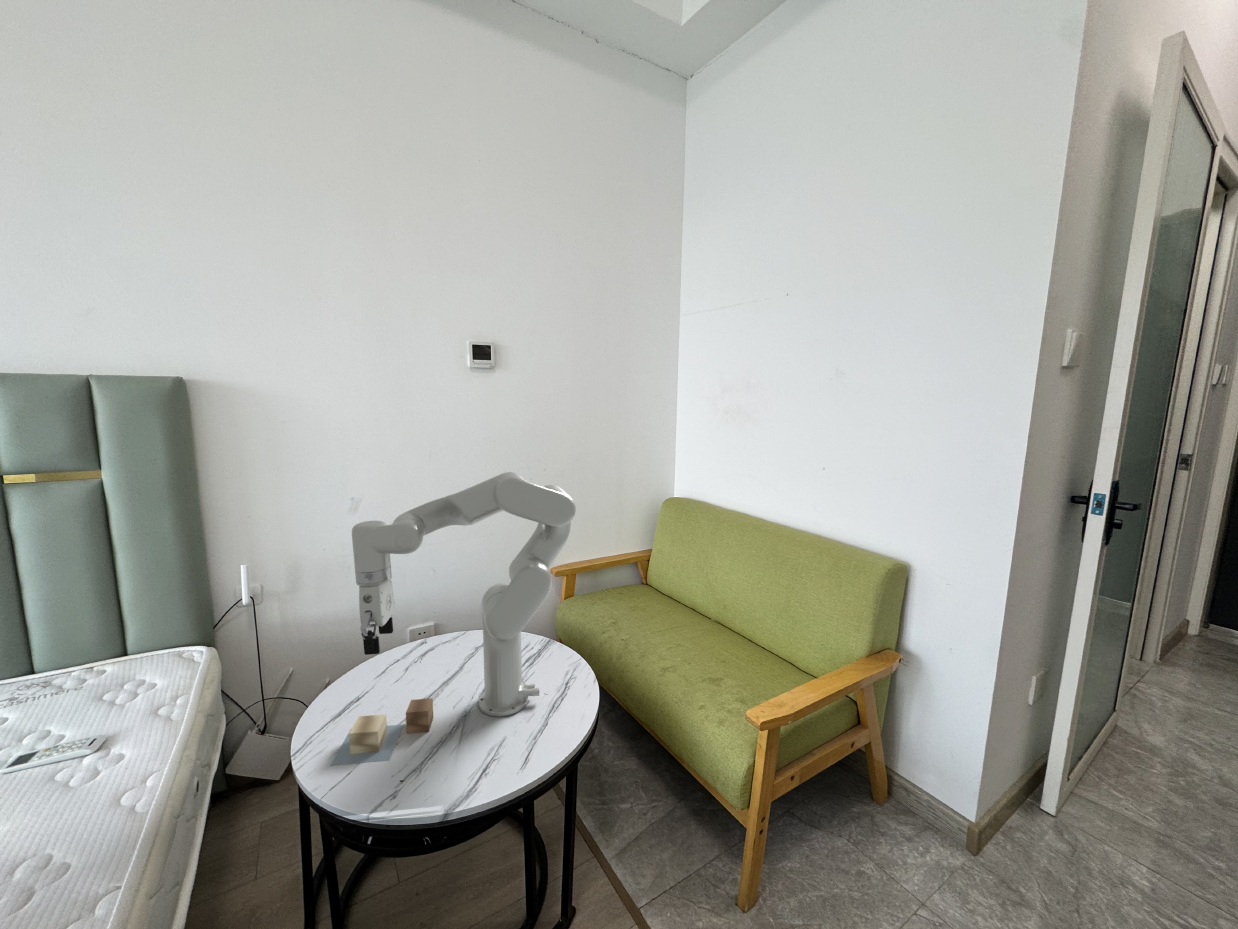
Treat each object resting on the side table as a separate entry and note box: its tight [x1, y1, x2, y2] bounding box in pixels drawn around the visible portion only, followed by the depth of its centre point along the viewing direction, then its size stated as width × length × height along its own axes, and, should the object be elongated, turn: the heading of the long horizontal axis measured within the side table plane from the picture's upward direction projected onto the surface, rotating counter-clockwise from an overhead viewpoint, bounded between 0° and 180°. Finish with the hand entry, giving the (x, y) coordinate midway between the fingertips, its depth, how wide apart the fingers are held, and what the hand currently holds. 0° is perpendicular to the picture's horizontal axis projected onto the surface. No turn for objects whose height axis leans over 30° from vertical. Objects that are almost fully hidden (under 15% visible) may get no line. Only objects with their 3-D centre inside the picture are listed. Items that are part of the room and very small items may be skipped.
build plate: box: [330, 723, 405, 767], centre depth 115 cm, size 12×12×1 cm
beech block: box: [348, 713, 388, 754], centre depth 114 cm, size 6×6×5 cm
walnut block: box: [405, 697, 435, 735], centre depth 121 cm, size 5×5×6 cm
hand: (379, 643), depth 120 cm, fingers open, 9 cm apart
